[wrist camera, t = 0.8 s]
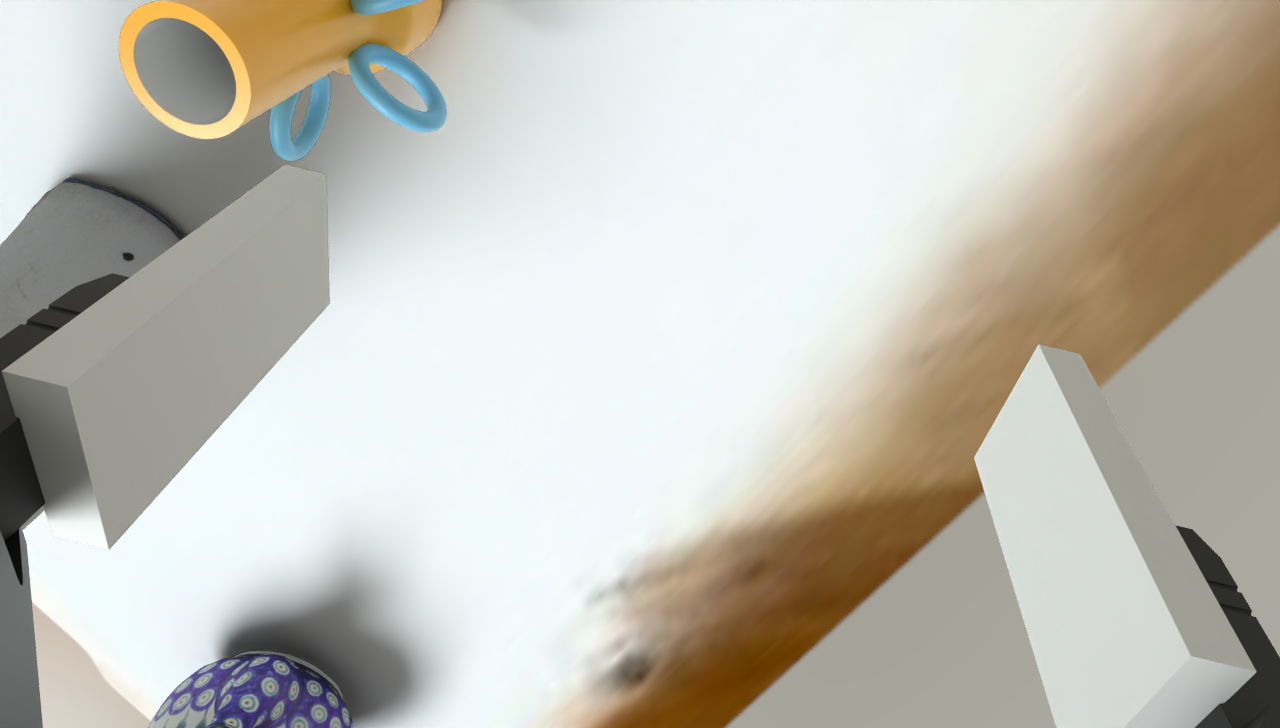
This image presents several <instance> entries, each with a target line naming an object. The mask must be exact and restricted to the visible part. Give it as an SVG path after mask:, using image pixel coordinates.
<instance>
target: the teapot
mask: <svg viewBox="0 0 1280 728" xmlns="http://www.w3.org/2000/svg"><path fill="white" fill-rule="evenodd" d="M148 728H353V723H352V719H351V716H350V714H349V712H348V709H347V707H346V705H345V703H344V701H343V696H342V692H341V690H340V689H339V687H338V685H337V684H336V683H335V682H334V681H333V680H332V679H331V678H330V677H329V676H328V675H326V674H325V673H324V672H323V671H321V670H320V669H319V668H317V667H315V666H314V665H312V664H310V663H308V662H306V661H304V660H302V659H299V658H296V657H294V656H290V655H287V654H283V653H278V652H272V651H249V652H243V653H240V654H238V655H236V656H234V657H231V658H224V659H221V660H219V661H217V662H214V663H212V664H209V665H206V666H204V667H202V668H201V669H199V670H198V671H196V672H195V673H194V674H192V675H191V676H190V677H188V678H187V679H186V680H185V681H183V682H182V683H181V684H180V685H179V686H177V688H176V689H175V690H174V691H173V692H172V693H171V694H170V695H169V696H168V698H167V699H166V700H165V702H164V703H163V704H162V706H161V707H160V709H159V710H158V712H157V713H156V715H155V716H154V718H153V719H152V721H151V723H150V725H149V726H148Z"/></svg>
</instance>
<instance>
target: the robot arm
mask: <svg viewBox="0 0 1280 728" xmlns="http://www.w3.org/2000/svg"><path fill="white" fill-rule="evenodd" d="M329 304H330V296H329V258H328V219H327V180H326V174H323V173H319V172H315V171H311V170H307V169H302V168H298V167H294V166H290V165H286V164H285V165H283V166H282V167H280V168H279V169H278V170H276V171H275V172H274V173H272V174H271V175H270V176H268V177H267V178H265V179H264V180H263V181H261V182H260V183H259V184H257V185H256V186H254V187H253V188H252V189H250V190H249V191H248V192H246V193H245V194H244V195H242V196H241V197H239V198H238V199H237V200H235V201H234V202H233V203H231V204H230V205H228V206H227V207H226V208H224V209H223V210H222V211H220V212H219V213H218V214H216V215H215V216H213V217H212V218H211V219H209V220H208V221H207V222H205V223H204V224H202V225H201V226H200V227H198V228H197V229H196V230H194V231H193V232H191V233H190V234H189V235H187V236H186V237H185V238H183V239H182V240H181V241H179V242H178V243H176V244H175V245H174V246H172V247H171V248H170V249H168V250H167V251H165V252H164V253H163V254H161V255H160V256H159V257H157V258H156V259H155V260H153V261H152V262H150V263H149V264H148V265H146V266H145V267H144V268H142V269H141V270H139V271H138V272H137V273H135V274H134V275H133V276H131V277H126V276H122V275H117V274H113V273H112V274H109V275H106V276H104V277H101V278H98V279H95V280H92V281H89V282H87V283H84V284H81V285H78V286H76V287H74V288H73V289H71V290H70V291H68V292H67V293H65V294H64V295H62V296H61V297H59V298H58V299H57V300H55V301H54V302H52V303H51V304H49V308H48V309H44V308H43V309H42V310H41V311H39V312H38V313H36V314H35V315H33V316H32V317H30V318H29V319H27V323H26V324H25V325H24V324H20V325H19V326H17V327H16V328H14V329H13V330H11V331H10V332H9V333H7V334H6V335H4V336H3V337H1V338H0V728H43V726H42V714H41V703H40V693H39V692H40V691H39V680H38V669H37V657H36V646H35V634H34V623H33V612H32V600H31V589H30V578H29V566H28V555H27V543H26V540H25V537H24V534H23V532H22V529H21V526H22V525H23V524H24V523H25V522H26V521H27V520H28V519H29V518H31V517H32V516H33V515H34V514H35V513H36V512H37V511H38V510H39V509H40V508H41V507H42V506H43V507H44V510H45V513H46V516H47V519H48V523H49V526H50V529H51V532H52V536H53V537H56V538H61V539H65V540H69V541H73V542H77V543H81V544H86V545H90V546H94V547H98V548H102V549H106V550H109V549H110V548H111V547H112V546H113V545H114V544H115V543H116V542H117V540H118V539H119V538H120V537H121V536H122V535H123V534H124V533H125V532H126V530H127V529H128V528H129V527H130V526H131V525H132V524H133V523H134V522H135V520H136V519H137V518H138V517H139V516H140V515H141V514H142V513H143V511H144V510H145V509H146V508H147V507H148V506H149V505H150V504H151V503H152V501H153V500H154V499H155V498H156V497H157V496H158V495H159V494H160V492H161V491H162V490H163V489H164V488H165V487H166V486H167V485H168V484H169V482H170V481H171V480H172V479H173V478H174V477H175V476H176V475H177V473H178V472H179V471H180V470H181V469H182V468H183V467H184V466H185V465H186V463H187V462H188V461H189V460H190V459H191V458H192V457H193V456H194V455H195V453H196V452H197V451H198V450H199V449H200V448H201V447H202V446H203V444H204V443H205V442H206V441H207V440H208V439H209V438H210V437H211V436H212V434H213V433H214V432H215V431H216V430H217V429H218V428H219V427H220V425H221V424H222V423H223V422H224V421H225V420H226V419H227V418H228V417H229V415H230V414H231V413H232V412H233V411H234V410H235V409H236V408H237V407H238V405H239V404H240V403H241V402H242V401H243V400H244V399H245V398H246V396H247V395H248V394H249V393H250V392H251V391H252V390H253V389H254V388H255V386H256V385H257V384H258V383H259V382H260V381H261V380H262V379H263V377H264V376H265V375H266V374H267V373H268V372H269V371H270V370H271V369H272V367H273V366H274V365H275V364H276V363H277V362H278V361H279V360H280V358H281V357H282V356H283V355H284V354H285V353H286V352H287V351H288V350H289V348H290V347H291V346H292V345H293V344H294V343H295V342H296V341H297V340H298V338H299V337H300V336H301V335H302V334H303V333H304V332H305V331H306V329H307V328H308V327H309V326H310V325H311V324H312V323H313V322H314V321H315V319H316V318H317V317H318V316H319V315H320V314H321V313H322V312H323V310H324V309H325V308H326V307H327V306H328V305H329ZM974 459H975V462H976V466H977V469H978V472H979V475H980V479H981V482H982V485H983V489H984V492H985V495H986V498H987V502H988V505H989V508H990V511H991V515H992V518H993V521H994V525H995V528H996V531H997V534H998V538H999V541H1000V544H1001V548H1002V551H1003V554H1004V557H1005V560H1006V564H1007V567H1008V570H1009V574H1010V577H1011V580H1012V584H1013V587H1014V590H1015V593H1016V597H1017V600H1018V603H1019V607H1020V610H1021V613H1022V616H1023V620H1024V623H1025V626H1026V629H1027V633H1028V636H1029V639H1030V642H1031V646H1032V649H1033V652H1034V655H1035V659H1036V662H1037V665H1038V669H1039V672H1040V675H1041V678H1042V681H1043V685H1044V688H1045V692H1046V695H1047V698H1048V702H1049V705H1050V708H1051V711H1052V714H1053V718H1054V721H1055V725H1056V728H1280V658H1279V656H1278V654H1277V652H1276V651H1275V649H1274V647H1273V646H1272V644H1271V642H1270V640H1269V639H1268V637H1267V635H1266V634H1265V632H1264V630H1263V629H1262V627H1261V625H1260V624H1259V622H1258V620H1257V618H1256V617H1253V616H1251V612H1252V610H1251V609H1250V607H1249V605H1248V603H1247V602H1246V600H1245V598H1244V597H1243V595H1242V593H1239V592H1237V588H1238V587H1237V585H1236V583H1235V582H1234V580H1233V578H1232V576H1231V575H1230V573H1229V571H1228V570H1227V568H1226V566H1225V564H1224V563H1223V561H1222V560H1221V558H1220V557H1219V556H1218V555H1217V554H1216V553H1215V552H1214V551H1213V550H1212V549H1211V548H1210V547H1209V546H1208V545H1207V544H1206V543H1205V542H1204V541H1203V540H1202V539H1201V538H1200V537H1199V536H1198V535H1197V534H1196V533H1195V532H1194V531H1193V530H1192V529H1188V528H1184V527H1180V526H1176V525H1175V524H1174V522H1173V520H1172V519H1171V517H1170V515H1169V513H1168V511H1167V510H1166V508H1165V506H1164V504H1163V502H1162V501H1161V499H1160V497H1159V495H1158V493H1157V492H1156V490H1155V488H1154V486H1153V484H1152V483H1151V481H1150V479H1149V477H1148V475H1147V474H1146V472H1145V470H1144V468H1143V466H1142V465H1141V463H1140V461H1139V459H1138V457H1137V456H1136V454H1135V452H1134V450H1133V449H1132V447H1131V445H1130V443H1129V441H1128V439H1127V438H1126V436H1125V434H1124V432H1123V430H1122V429H1121V427H1120V425H1119V423H1118V422H1117V420H1116V418H1115V416H1114V414H1113V412H1112V411H1111V409H1110V407H1109V405H1108V404H1107V402H1106V400H1105V398H1104V396H1103V395H1102V393H1101V391H1100V389H1099V387H1098V385H1097V384H1096V382H1095V380H1094V378H1093V376H1092V375H1091V373H1090V371H1089V369H1088V367H1087V366H1086V364H1085V362H1084V360H1083V358H1082V357H1081V355H1080V354H1077V353H1073V352H1068V351H1064V350H1060V349H1056V348H1052V347H1047V346H1043V345H1039V344H1038V346H1037V348H1036V350H1035V351H1034V353H1033V355H1032V357H1031V359H1030V360H1029V362H1028V364H1027V366H1026V367H1025V369H1024V371H1023V373H1022V374H1021V376H1020V378H1019V380H1018V381H1017V383H1016V385H1015V387H1014V388H1013V390H1012V392H1011V394H1010V395H1009V397H1008V399H1007V401H1006V403H1005V404H1004V406H1003V408H1002V410H1001V411H1000V413H999V415H998V417H997V418H996V420H995V422H994V424H993V425H992V427H991V429H990V431H989V432H988V434H987V436H986V438H985V439H984V441H983V443H982V445H981V447H980V448H979V450H978V452H977V454H976V455H975V457H974Z"/></svg>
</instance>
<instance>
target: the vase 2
mask: <svg viewBox="0 0 1280 728" xmlns="http://www.w3.org/2000/svg"><path fill="white" fill-rule="evenodd" d="M441 8H442V0H157V1H153V2H150V3H147V4H144V5H142V6H140V7H138V8H137V9H135V10H134V11H133V12H132V13H131V14H130V15H129V16H128V18H127V19H126V21H125V22H124V24H123V27H122V29H121V33H120V38H119V55H120V61H121V65H122V69H123V72H124V75H125V77H126V80H127V82H128V84H129V86H130V87H131V89H132V91H133V92H134V94H135V95H136V97H137V98H138V100H139V101H140V102H141V103H142V105H143V106H144V107H145V108H146V109H147V110H148V111H149V112H150V113H151V114H152V115H153V116H154V117H155V118H157V119H158V120H159V121H160V122H162V123H163V124H165V125H166V126H168V127H169V128H171V129H173V130H175V131H177V132H179V133H181V134H184V135H187V136H190V137H194V138H200V139H215V138H220V137H223V136H226V135H228V134H230V133H232V132H233V131H235V130H237V129H238V128H240V127H241V126H243V125H245V124H246V123H248V122H250V121H251V120H253V119H255V118H256V117H258V116H259V115H261V114H263V113H264V112H266V111H268V110H269V109H271V108H272V109H271V115H270V124H269V134H270V141H271V145H272V147H273V150H274V151H275V153H276V154H277V155H278V156H279V157H280V158H282V159H284V160H286V161H296V160H298V159H301V158H302V157H304V156H305V155H306V154H307V153H308V152H309V151H310V150H311V148H312V147H313V146H314V144H315V143H316V141H317V139H318V137H319V135H320V133H321V131H322V128H323V126H324V123H325V120H326V117H327V113H328V109H329V103H330V93H331V86H330V78H329V73H331V72H332V71H333V72H336V73H339V74H344V75H351V78H352V80H353V82H354V84H355V85H356V87H357V88H358V90H359V91H360V93H361V94H362V95H363V96H364V98H365V99H366V100H367V101H368V102H369V103H370V104H371V105H372V106H373V107H374V108H375V109H377V110H378V111H379V112H380V113H381V114H383V115H384V116H386V117H387V118H388V119H390V120H392V121H393V122H395V123H397V124H399V125H401V126H403V127H405V128H408V129H410V130H414V131H418V132H432V131H435V130H437V129H439V128H440V127H441V126H442V125H443V124H444V122H445V120H446V116H447V109H446V104H445V101H444V98H443V96H442V94H441V92H440V91H439V89H438V88H437V86H436V85H435V83H434V82H433V81H432V80H431V79H430V77H429V76H428V75H427V74H426V73H425V72H424V71H423V70H422V69H421V68H420V67H418V66H417V65H416V64H415V63H414V62H412V61H411V60H410V59H408V58H407V57H405V55H407V54H408V53H410V52H411V51H413V50H414V49H415V48H417V47H418V46H420V45H421V44H422V43H423V42H424V41H425V40H426V39H427V38H428V37H429V36H430V35H431V33H432V32H433V30H434V29H435V27H436V25H437V22H438V20H439V17H440V13H441ZM386 68H388V69H390V70H392V71H393V72H395V73H397V74H398V75H400V76H401V77H402V78H404V79H405V80H406V81H407V82H408V83H409V84H411V85H412V86H413V87H414V88H415V90H416V91H417V92H418V93H419V94H420V96H421V97H422V99H423V100H424V102H425V104H426V106H427V112H421V111H417V110H414V109H412V108H410V107H408V106H406V105H404V104H402V103H401V102H399V101H398V100H397V99H395V98H394V97H393V96H391V95H390V94H389V93H388V92H387V91H386V90H385V89H384V88H383V87H382V86H381V85H380V84H379V83H378V81H377V80H376V79H375V77H374V76H373V74H374V73H377V72H379V71H382V70H384V69H386ZM310 84H311V98H310V104H309V108H308V112H307V115H306V118H305V120H304V123H303V125H302V127H301V129H300V131H299V132H298V134H297V135H296V136H295V138H294V139H293V140H292V141H291V121H292V116H293V112H294V108H295V105H296V102H297V100H298V97H299V95H300V93H301V91H302V90H303V89H304V88H305V87H307V86H309V85H310Z"/></svg>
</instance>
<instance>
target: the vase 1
mask: <svg viewBox="0 0 1280 728" xmlns="http://www.w3.org/2000/svg"><path fill="white" fill-rule="evenodd" d="M182 239H183V237H182V236H181V235H180V234H179V233H178V232H176V231H175V229H174V228H173V227H172V226H171V224H170V223H169V222H168V221H167V220H166V219H164V218H163V217H162V216H160V215H159V214H157V213H156V212H154V211H152V210H151V209H149V208H147V207H145V206H144V205H142V204H140V203H138V202H136V201H135V200H133V199H130V198H128V197H127V196H125V195H120V194H118V193H116V192H115V191H112V190H109V189H107V188H103V187H100V186H97V185H93V184H89V183H86V182H82V181H77V180H73V179H71V178H68V179H66V180H65V181H63V183H62V184H60V185H58V186H57V187H55V188H53V189H52V190H50V191H48V192H47V193H46V194H45V195H44V196H43V197H42V198H41V199H40V200H39V202H38V203H37V204H36V205H34V206H33V208H32V209H31V210H30V212H29V213H27V215H26V216H25V218H24V219H23V220H22V222H21V223H20V224H19V225H18V227H17V228H16V229H15V230H14V231H13V232H12V233H11V234H10V236H9V237H8V238H7V239H6V240H5V241H4V242H3V243H2V244H1V245H0V338H1V337H3V336H4V335H6V334H7V333H9V332H10V331H11V330H13V329H14V328H16V327H17V326H19V325H20V324H24V325H25V324H26V323H27V319H29V318H30V317H32V316H33V315H35V314H36V313H38V312H39V311H41V310H42V309H43V308H44V309H48V308H49V304H51V303H52V302H54V301H55V300H57V299H58V298H59V297H61V296H62V295H64V294H65V293H67V292H68V291H70V290H71V289H73V288H74V287H76V286H78V285H81V284H84V283H87V282H89V281H92V280H95V279H98V278H101V277H104V276H106V275H109V274H112V273H113V274H117V275H122V276H126V277H131V276H133V275H134V274H135V273H137V272H138V271H139V270H141V269H142V268H144V267H145V266H146V265H148V264H149V263H150V262H152V261H153V260H155V259H156V258H157V257H159V256H160V255H161V254H163V253H164V252H165V251H167V250H168V249H170V248H171V247H172V246H174V245H175V244H176V243H178V242H179V241H181V240H182ZM43 511H44V507H43V506H42V507H41V508H40V509H39V510H38V511H37V512H36V513H35V514H34V515H33V516H32V517H31V518H29V519H28V520H27V521H26V522H25V523H24V524H23V525H22V526H21V529H22V530H23V529H24V528H26V526H27V525H29V524H30V523H31V522H32V521H33V520H34V519H36V518H37V517H38V516H39V515H40V514H41V513H42V512H43Z"/></svg>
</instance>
